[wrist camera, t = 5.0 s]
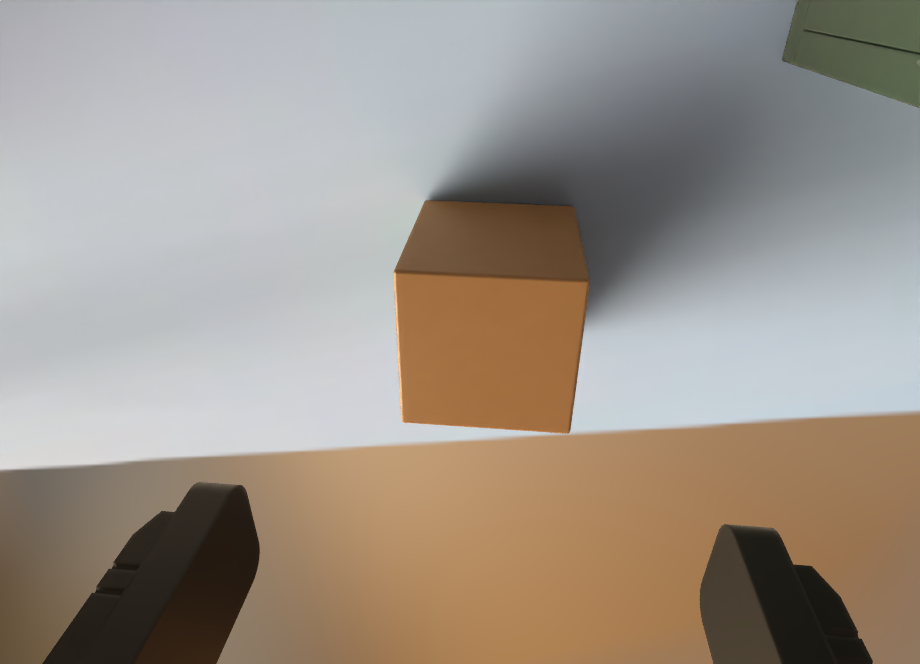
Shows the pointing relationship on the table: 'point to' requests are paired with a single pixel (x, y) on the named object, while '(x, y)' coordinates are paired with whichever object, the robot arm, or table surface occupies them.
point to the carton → (491, 316)
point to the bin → (860, 44)
